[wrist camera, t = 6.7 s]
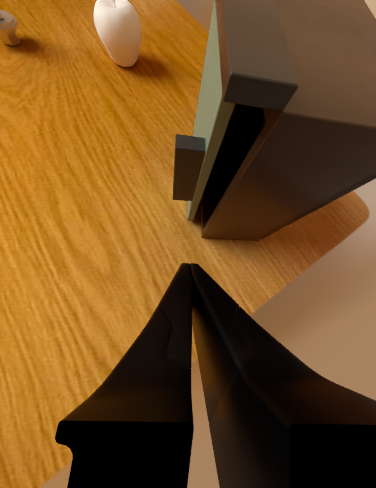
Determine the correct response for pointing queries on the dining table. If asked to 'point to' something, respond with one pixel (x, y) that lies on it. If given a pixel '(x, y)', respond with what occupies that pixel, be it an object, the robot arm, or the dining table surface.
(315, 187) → the cupboard
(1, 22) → the screw
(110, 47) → the apple
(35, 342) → the dining table surface
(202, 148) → the sliding door
